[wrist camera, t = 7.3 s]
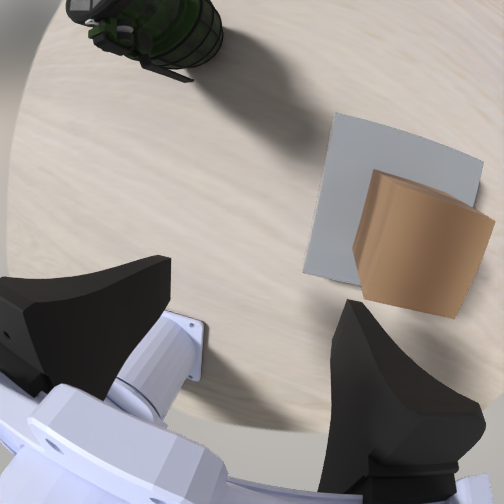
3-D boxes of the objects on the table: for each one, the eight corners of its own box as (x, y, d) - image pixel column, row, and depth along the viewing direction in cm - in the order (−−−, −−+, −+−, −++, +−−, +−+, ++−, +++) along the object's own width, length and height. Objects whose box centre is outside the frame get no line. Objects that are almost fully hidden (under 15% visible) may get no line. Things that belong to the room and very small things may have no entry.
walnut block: (351, 248, 18) (364, 298, 12) (373, 168, 16) (400, 186, 10) (421, 266, 17) (454, 318, 12) (446, 192, 15) (495, 221, 9)
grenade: (232, 4, 16) (153, -85, 5) (241, 80, 18) (151, 25, 7) (161, 23, 17) (51, -28, 6) (167, 95, 19) (40, 80, 8)
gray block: (305, 252, 22) (302, 273, 19) (332, 116, 18) (335, 112, 15) (424, 279, 21) (438, 302, 18) (461, 156, 17) (483, 161, 13)
